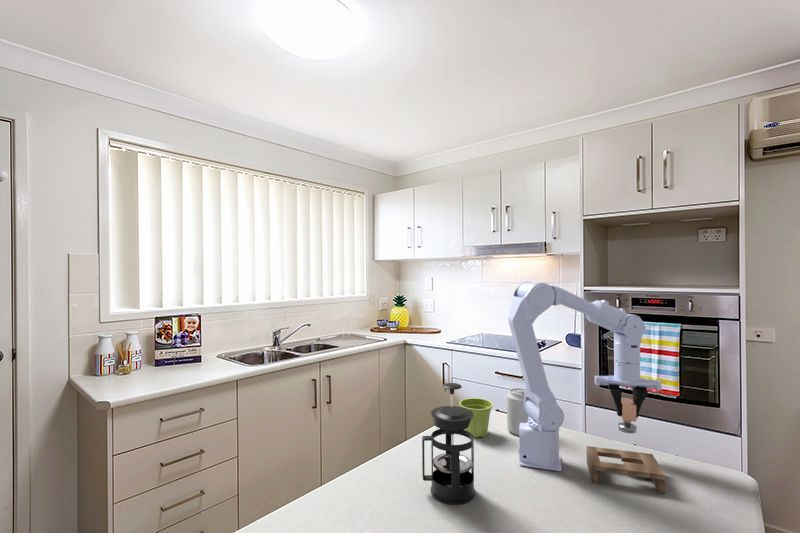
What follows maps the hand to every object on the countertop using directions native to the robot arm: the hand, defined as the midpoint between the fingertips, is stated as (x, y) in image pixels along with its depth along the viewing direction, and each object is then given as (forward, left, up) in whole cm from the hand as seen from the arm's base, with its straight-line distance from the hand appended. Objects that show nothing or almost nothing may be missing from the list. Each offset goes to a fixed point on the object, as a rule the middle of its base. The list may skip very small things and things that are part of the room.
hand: (627, 415), depth 101 cm
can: (-26, +8, -11) cm, 29 cm away
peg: (0, 0, -4) cm, 4 cm away
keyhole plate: (-3, -11, -10) cm, 15 cm away
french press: (-39, -29, -11) cm, 50 cm away
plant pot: (-38, +3, -11) cm, 40 cm away
